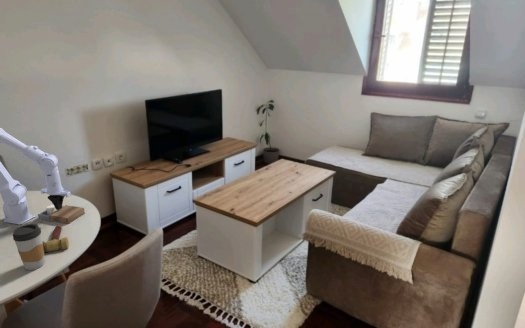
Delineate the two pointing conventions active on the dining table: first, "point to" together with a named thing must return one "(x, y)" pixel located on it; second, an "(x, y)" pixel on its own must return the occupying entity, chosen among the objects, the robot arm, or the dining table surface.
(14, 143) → the robot arm
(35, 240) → the coffee cup
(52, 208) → the tile block
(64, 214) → the board
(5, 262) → the dining table surface
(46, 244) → the gavel
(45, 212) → the tray
